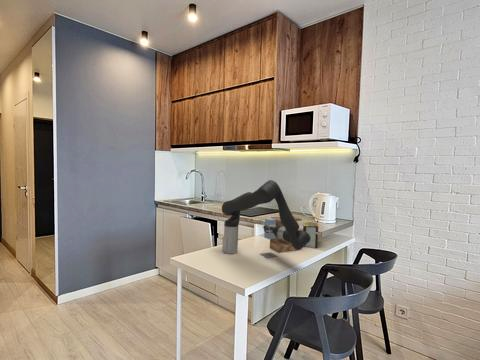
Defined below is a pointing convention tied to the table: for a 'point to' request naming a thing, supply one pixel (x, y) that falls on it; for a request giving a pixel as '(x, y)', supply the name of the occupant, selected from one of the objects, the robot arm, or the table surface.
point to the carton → (269, 223)
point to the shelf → (281, 244)
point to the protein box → (311, 233)
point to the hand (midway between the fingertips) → (267, 226)
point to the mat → (269, 255)
